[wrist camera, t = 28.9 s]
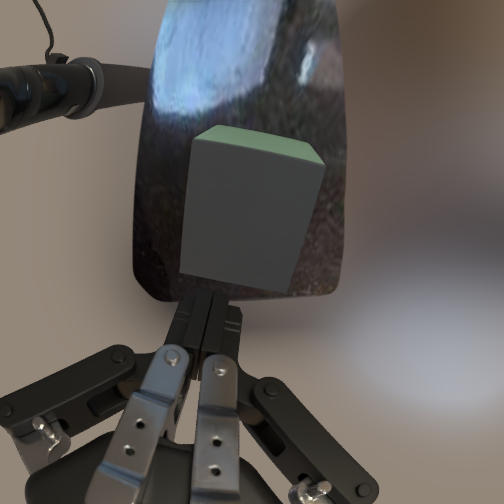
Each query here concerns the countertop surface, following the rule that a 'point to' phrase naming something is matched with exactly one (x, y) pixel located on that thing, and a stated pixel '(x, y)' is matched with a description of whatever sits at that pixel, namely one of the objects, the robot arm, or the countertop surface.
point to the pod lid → (246, 214)
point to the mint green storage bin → (261, 142)
